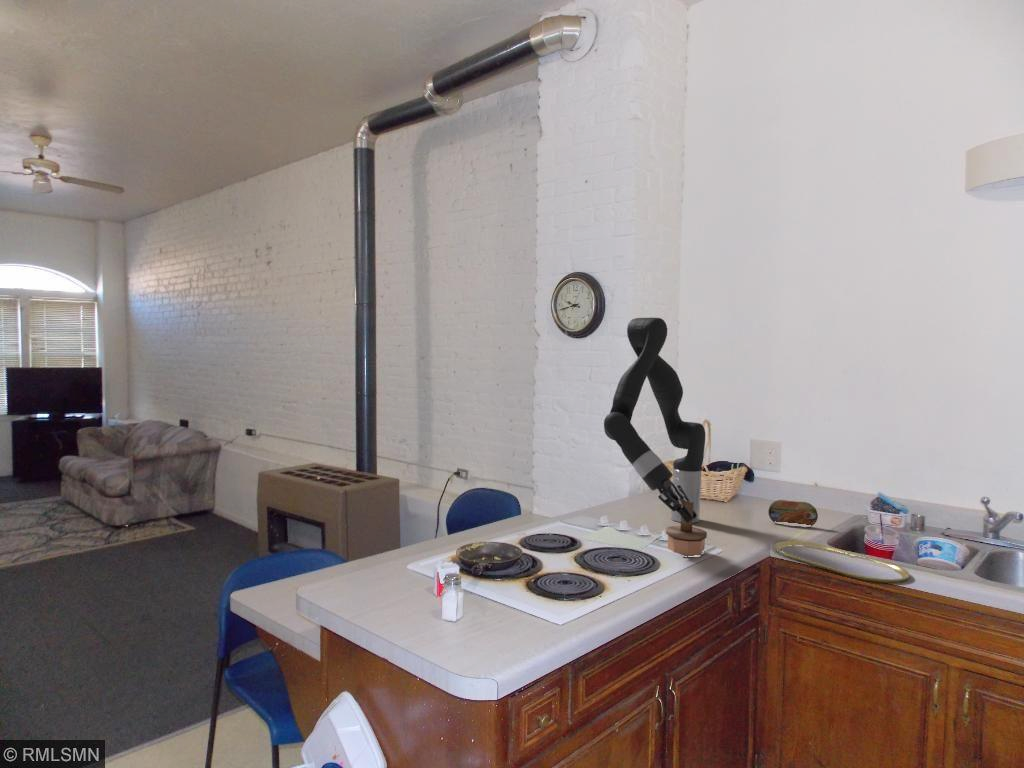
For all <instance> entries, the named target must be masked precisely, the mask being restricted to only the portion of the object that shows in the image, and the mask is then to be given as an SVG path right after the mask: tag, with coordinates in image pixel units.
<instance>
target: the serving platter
mask: <svg viewBox="0 0 1024 768" xmlns="http://www.w3.org/2000/svg"><path fill="white" fill-rule="evenodd" d="M788 545H803V546H812V547H817V548H821V549H826V550H832V551H834V550H835V552H836V551H837V552H840V553H844V552H845V554H848V553H851V554H849V555H851V556H859V557H863V558H868V559H870V560H873V561H875V562H877V563H882V564H885V565H887V566H890V567H892V568H894V570H895V571H894V572H896V573H897V574H899V575H900V576H901V578H890V579H889V578H879V577H871V576H870V577H869V576H864V575H860V574H856V573H851V572H848V571H846V570H845V571H844V570H841V569H838V568H836V567H835V568H834V567H832V566H829V565H825V564H822V563H819V562H815V561H813V560H808V559H806V558H802V557H799V556H795V555H793V554H790V553H786V552H783V551H782V550H781V549H782V548H788V547H789V546H788ZM787 546H788V547H787ZM773 547H774V549H775V551H776V552H777V553H778V554H780V555H782V556H784V557H786V558H789V559H792V560H795V561H799V562H801V563H805V564H808V565H811V566H814V567H818V568H820V569H824V570H827V571H831V572H833V573H836V574H840V575H843V576H846V577H849V578H853V579H858V580H861V581H866V582H874V583H875V582H876V583H883V584H884V583H885V584H892V583H901V582H902V583H903V582H904V581H906V580H907V579H909V577H910V572H909V571H908V570H906V568H903V567H901V566H898V565H896V564H894V563H891V562H888V561H884V560H880V559H877V558H873V557H868V556H866V555H862V554H859V553H855V552H852V551H848V550H844V549H841V548H837V547H833V546H830V545H825V544H821V543H816V542H809V541H801V540H800V541H797V540H785V541H779V542H776V543H775V544H774V546H773ZM817 548H816V549H817ZM821 549H820V550H821ZM841 551H842V552H841Z"/></svg>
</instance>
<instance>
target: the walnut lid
mask: <svg viewBox="0 0 1024 768" xmlns="http://www.w3.org/2000/svg"><path fill="white" fill-rule="evenodd" d="M682 504H683V505H684V507H685V508H686V509H687V510H688V512H689V513H690V514H691V515H692V516H693V504H694V503H693V502H690V501H682ZM693 524H694V523H693V519H692V520H691V521H690V522H688V523H687V522H686V521H685V520H684V519H683V518H682V516H681V522H680V525H671V526H668V527H666V528H665V534H666V535H667V536H668V535H669V536H671V537H674V538H678V539H685V540H702V539H705V540H706V539H707V537H708V533H707V531H705V529H702V528H698V527H695V526H694V527H693Z"/></svg>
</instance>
